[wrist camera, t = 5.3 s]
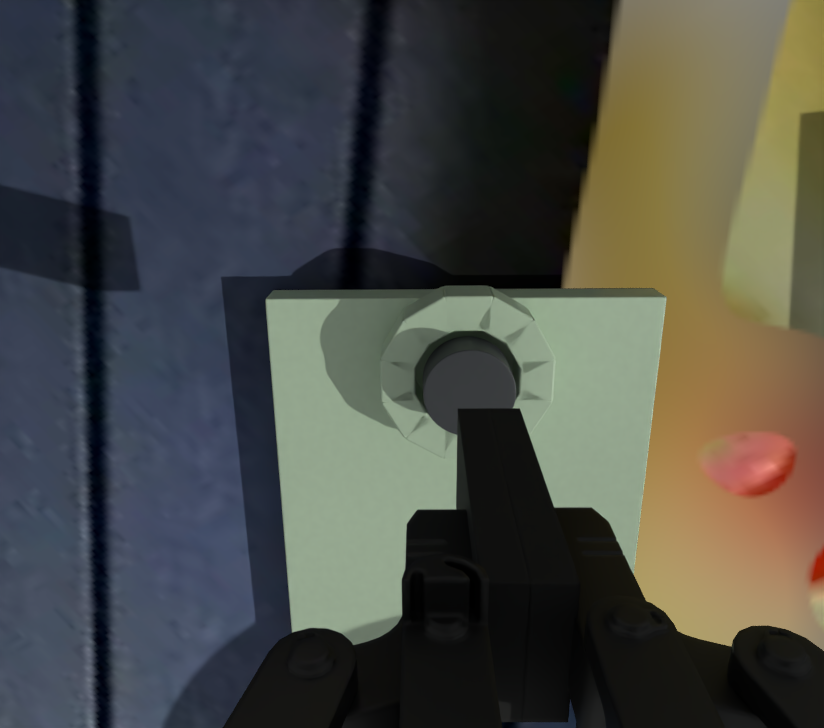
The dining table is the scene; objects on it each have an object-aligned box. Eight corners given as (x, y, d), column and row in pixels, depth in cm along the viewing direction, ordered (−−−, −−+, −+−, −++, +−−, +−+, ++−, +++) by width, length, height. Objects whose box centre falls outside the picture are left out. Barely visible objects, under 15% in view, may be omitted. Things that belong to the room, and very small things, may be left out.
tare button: (422, 335, 23) (423, 350, 21) (512, 335, 23) (518, 349, 21) (422, 417, 24) (423, 436, 22) (508, 417, 24) (514, 436, 22)
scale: (271, 277, 25) (253, 297, 22) (655, 275, 25) (686, 294, 22) (299, 641, 30) (287, 694, 28) (614, 641, 30) (634, 694, 27)
